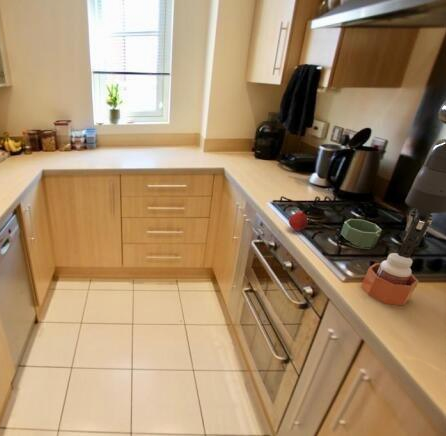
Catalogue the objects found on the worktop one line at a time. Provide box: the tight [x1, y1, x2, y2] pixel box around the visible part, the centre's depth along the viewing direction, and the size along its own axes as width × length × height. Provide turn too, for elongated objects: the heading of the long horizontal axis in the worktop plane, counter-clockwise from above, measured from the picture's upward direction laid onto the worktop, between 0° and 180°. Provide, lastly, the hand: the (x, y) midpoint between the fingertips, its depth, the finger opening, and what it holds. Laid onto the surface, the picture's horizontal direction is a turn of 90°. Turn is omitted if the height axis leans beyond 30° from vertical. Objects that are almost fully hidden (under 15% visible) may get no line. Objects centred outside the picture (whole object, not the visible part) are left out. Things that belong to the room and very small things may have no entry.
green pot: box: [339, 218, 383, 250], centre depth 105 cm, size 9×9×6 cm
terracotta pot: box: [361, 262, 420, 306], centre depth 83 cm, size 9×9×6 cm
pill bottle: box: [376, 252, 414, 285], centre depth 81 cm, size 6×6×11 cm
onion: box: [288, 210, 309, 232], centre depth 112 cm, size 6×6×8 cm
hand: (404, 248), depth 78 cm, fingers open, 8 cm apart
